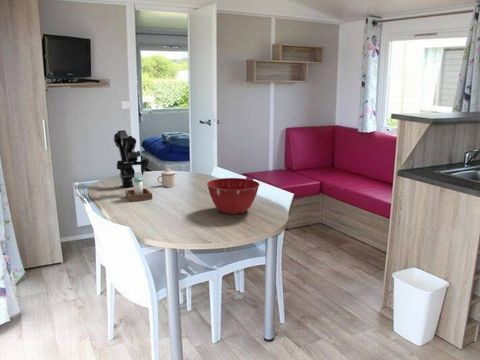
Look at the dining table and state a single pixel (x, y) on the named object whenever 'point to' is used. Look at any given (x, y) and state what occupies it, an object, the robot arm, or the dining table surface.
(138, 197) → the brown wooden tray
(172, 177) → the teacup with lid
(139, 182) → the canister
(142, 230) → the dining table surface
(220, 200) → the mixing bowl
